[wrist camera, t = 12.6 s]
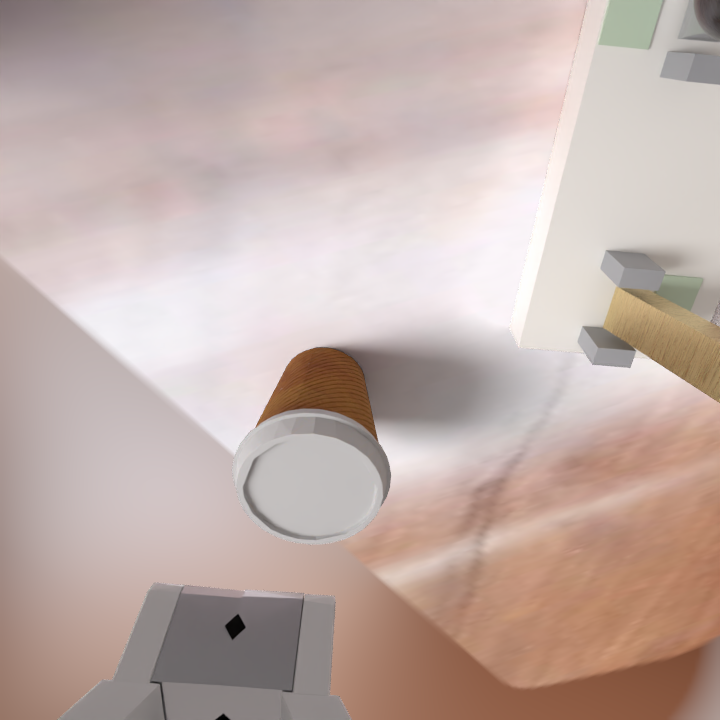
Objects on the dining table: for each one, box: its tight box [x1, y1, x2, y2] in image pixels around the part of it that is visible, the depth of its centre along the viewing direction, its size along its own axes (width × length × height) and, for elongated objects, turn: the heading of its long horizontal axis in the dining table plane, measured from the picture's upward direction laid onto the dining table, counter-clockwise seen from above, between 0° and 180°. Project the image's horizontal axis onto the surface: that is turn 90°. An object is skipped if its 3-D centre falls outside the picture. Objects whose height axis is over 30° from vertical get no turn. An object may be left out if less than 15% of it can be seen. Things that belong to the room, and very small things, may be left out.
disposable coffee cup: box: [232, 348, 391, 544], centre depth 39 cm, size 10×10×12 cm
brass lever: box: [603, 286, 720, 403], centre depth 31 cm, size 3×3×12 cm
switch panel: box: [509, 0, 720, 368], centre depth 33 cm, size 12×24×6 cm, turn 175°
